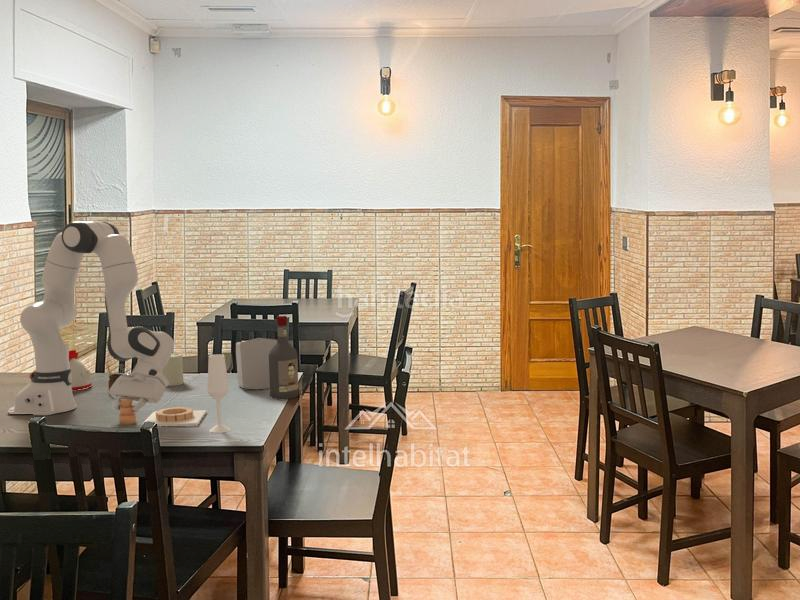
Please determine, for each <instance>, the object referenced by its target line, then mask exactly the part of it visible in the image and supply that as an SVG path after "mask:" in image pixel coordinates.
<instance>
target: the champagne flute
mask: <svg viewBox="0 0 800 600" xmlns="http://www.w3.org/2000/svg"><path fill="white" fill-rule="evenodd" d="M229 390H230V388H229V380H228V373H227V365H226V356H225V354H210V355H208V370H207V388H206V391H207V394H208V395H209V396H210V397H211V398H212V399H213V400H215V401H216V413H217V414H216V415H217V416H216V417H217V424H216V425H215V426H213V427H211V429H209V430H208V431H210V432H209V433H212V432H213V433H212V434H222V433H227V432H229V431H231V428H229V427H228V426H226V425H223V424H222V409H221V408H222V407H221V406H222V405H221V404H222V403H221V400H223V399H224V398H225V397H227V395H228V393H229Z"/></svg>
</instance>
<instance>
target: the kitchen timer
mask: <svg viewBox="0 0 800 600" xmlns="http://www.w3.org/2000/svg"><path fill="white" fill-rule="evenodd" d="M68 353H69V368H70V369H71V375H72V383H71V388H72V390H78V389H83V388H87V387H89V386H91V385H92V384H93V383H92V378H91V370H89V369H87V367H86V366H85V364H83V362H82V361H80V360H78V356H79V352H78V351H77V350H76V349H71V350H68ZM92 386H93V385H92Z"/></svg>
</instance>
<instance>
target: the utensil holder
mask: <svg viewBox="0 0 800 600" xmlns="http://www.w3.org/2000/svg"><path fill="white" fill-rule="evenodd" d="M121 366H123V364H121V363H120V364H118V366H117V369H116V370H119V369H120V371H121V370H122V372H121V373H111V369H110V367H109V364H108V362H106V367H107V370H108V372H109V376H108V379H109V380H108V383H107V384H108V391H109V390H110V388H111V387H112V385H113V384H114V382H115V381H116V380H117V379H118V378H119V377H120V376H122V375H124V369H122V368H120V367H121Z"/></svg>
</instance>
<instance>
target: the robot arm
mask: <svg viewBox="0 0 800 600" xmlns="http://www.w3.org/2000/svg"><path fill="white" fill-rule="evenodd" d="M130 245H131V244H130V243H129V241H128V239H127V237H125V236H124V235H123V234H120V232H119V230H118V228H117V227H116V226H115V225H114V224H112V223H110V222H107V221H98V220H83V221H81V220H76V221H71V222H69V223H67V224H66V225H65V226H64V227H63V229H62V231H61V232H59V233H58V234H56V236H55V237H54V239H53V241H52V244H51V246H50V248H49V249H48V254H47V257H46V260H45V263H44V264H45V265H44V268H43V271H42V272H43V273H42V276H41V284H42V286H43V290H44V291H43V292H44V294H43V298H42V300H41V301H37V302H33V303H31V304H30V305H28V306H27V307H25V308H24V309H23V310H22V312H20V317H19V320H20V324H21V327H22V328H23V329H24V330H25V331H26V332H27V333H28V336H29V339H30V341H31V344H32V346H33V353H34V359H35V360H34V362H35V370H33V371H32V372H31V373H30V374H29V379H30V382H29V383H28V384H27V385H25V386H24V387H23V388H22V389H21V390H20V391H18V392H17V393H16V395H15V397H14V405H13V406H11V407H10V408H9V409H8V410H7V413H8V412H9V413H26V414H33V415H32V416H51V415H54V414H60V413H64V412H69V411H72V410H75V409H77V407H78V406H77V403H76V401H75V398H74V395H73V391H72V388H71V383H72V375H71V369H70V368H69V348H68V345H67V344H66V343H65V341H64V340H63V338H62V333H61V329H64V328H66V327H68V326H69V325H70V324H71V323H73V322H74V321H75V320H76V317H77V315H78V309H77V306H76V304H75V288H76V287H75V286H76V283H77V280H78V279H77V278H78V274H79V271H80V267H81V263H82V260H83V257H84V255H85V254H95V255H96V256H97V257H98V259H99V261H100V265H101V271H102V275H103V280H104V282H103V283H104V304H105V313H106V321H107V326H108V327H107V328H108V338H107V351H108V353H109V355H110V356H111V357H112V358H113V359H115V360H116V361H119V362H127V361H128V360H130V359H133V358H136V359H137V362H136V364H135V366H134V368H133V369H132V372H131V373H123V375H122V376H120V377H119V378H118V379H117V380H116V381H115V382H114V384H113V385H112V387H111V388H110V390H109V389H108V393H109V396H111V397H112V398H113V399H116V404H115V406H114V409H115V410H116V411H120V407H121V399H125V398H131V399H132V402H137V403H136V404H135V405H132V406H133V408H132V411H133V412H134V413H138V412H139V411H140V409H142V408H143V407H144V406H146V404H147V403H151V404H158V403H159V402H160V401H161V400H162V398H163V396H164V394H165V392H166V390H167V389H166V387H169V386H168V384H169V381H168V380H167V379H166V378H165V377H164V375H163V374H162V370H163V368H164V366H165V365H166V364H167V363H168V361H169V359H170V357H171V355H172V353H173V352H174V349H175V340H174V339H173V338H172V337H171V335H169V334H168V333H166V332H165V331H162V330H161V331H154V330H150V329H148V328H147V327H145V326H141V325H138V326H133V327H131V328H128V322H127V315H126V314H127V313H126V302H127V299H128V297H129V296H130V294H131V293H132V292H133V290H134V289H135V287H136V286H137V284H138V280H139V276H138V275H139V274H138V268H137V264H136V259H135V256H134V252H133V251H132V247H131V246H130ZM10 410H12V411H10Z"/></svg>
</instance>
